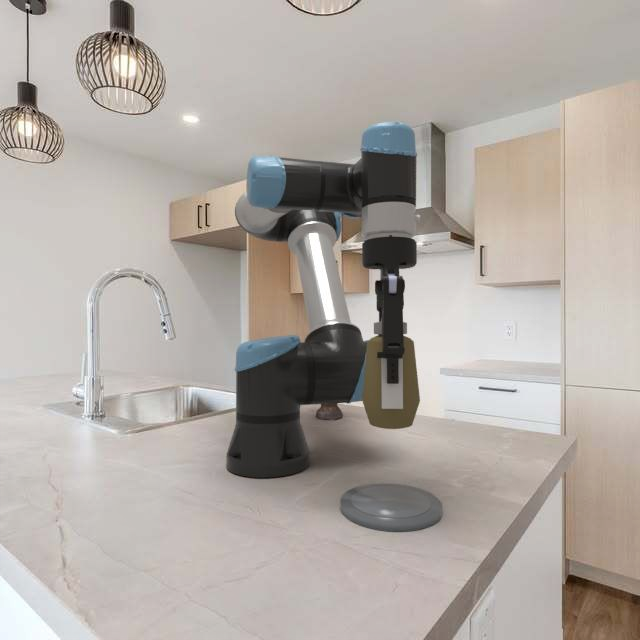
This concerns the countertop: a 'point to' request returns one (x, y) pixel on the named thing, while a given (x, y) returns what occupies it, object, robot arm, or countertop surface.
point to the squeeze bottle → (374, 385)
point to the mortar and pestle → (329, 411)
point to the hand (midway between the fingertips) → (390, 402)
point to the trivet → (391, 507)
